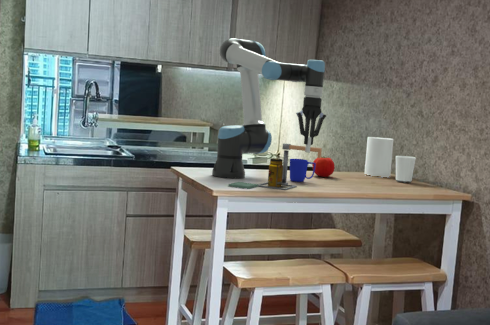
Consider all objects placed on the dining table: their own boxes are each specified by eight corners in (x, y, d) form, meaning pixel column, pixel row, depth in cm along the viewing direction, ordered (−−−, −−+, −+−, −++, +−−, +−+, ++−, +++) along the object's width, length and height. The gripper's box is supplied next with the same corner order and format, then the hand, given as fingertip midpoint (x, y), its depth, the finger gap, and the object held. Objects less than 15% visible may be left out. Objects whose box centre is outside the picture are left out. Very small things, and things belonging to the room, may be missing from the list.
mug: (313, 183, 303) (315, 161, 302) (286, 181, 305) (288, 159, 304) (315, 181, 311) (316, 160, 310) (289, 179, 313) (291, 158, 312)
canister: (370, 176, 347) (374, 138, 345) (360, 173, 360) (363, 136, 358) (394, 177, 350) (398, 139, 348) (383, 174, 363) (386, 137, 361)
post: (278, 184, 292) (281, 150, 291) (281, 183, 296) (284, 149, 294) (286, 185, 291) (288, 151, 289) (289, 184, 294) (291, 150, 293)
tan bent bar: (318, 158, 283) (319, 147, 282) (280, 153, 291) (281, 143, 291) (321, 157, 286) (322, 147, 286) (284, 153, 294) (284, 143, 294)
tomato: (334, 176, 339) (336, 156, 338) (333, 179, 327) (335, 158, 326) (312, 174, 341) (314, 154, 340) (310, 176, 328) (312, 156, 327)
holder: (255, 186, 282) (255, 185, 282) (267, 183, 294) (267, 182, 294) (285, 190, 276) (285, 188, 276) (296, 186, 288) (296, 185, 288)
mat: (228, 186, 275) (228, 183, 275) (238, 184, 285) (238, 181, 284) (248, 188, 272) (248, 186, 272) (257, 186, 281) (258, 184, 281)
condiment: (263, 185, 285) (265, 157, 284) (277, 185, 291) (279, 157, 289) (275, 188, 279) (277, 159, 278) (289, 187, 285) (291, 159, 284)
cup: (398, 180, 340) (400, 155, 339) (416, 182, 335) (418, 157, 333) (390, 181, 332) (392, 156, 331) (409, 184, 326) (411, 158, 325)
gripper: (301, 95, 277) (295, 152, 279) (330, 98, 280) (324, 154, 282) (295, 95, 284) (290, 150, 287) (324, 98, 287) (318, 152, 290)
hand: (307, 152), depth 285 cm, fingers closed
